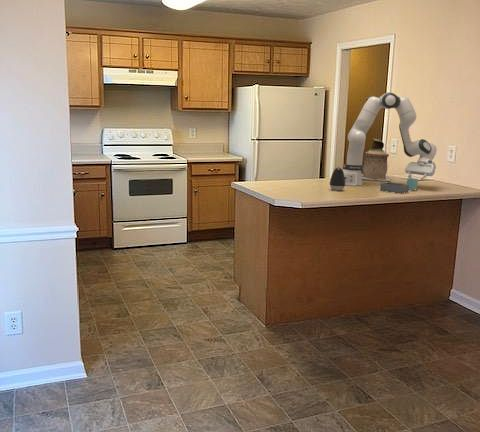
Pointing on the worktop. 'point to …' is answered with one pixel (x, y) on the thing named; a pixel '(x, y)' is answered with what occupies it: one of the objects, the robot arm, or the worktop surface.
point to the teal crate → (412, 183)
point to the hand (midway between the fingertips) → (415, 178)
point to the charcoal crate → (394, 187)
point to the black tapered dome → (337, 180)
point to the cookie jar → (375, 162)
